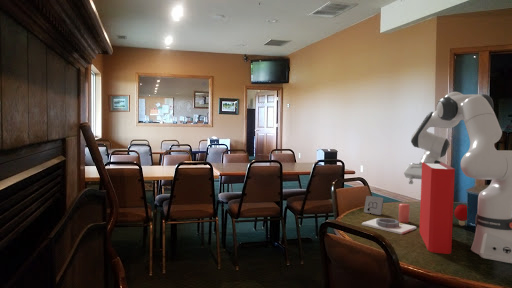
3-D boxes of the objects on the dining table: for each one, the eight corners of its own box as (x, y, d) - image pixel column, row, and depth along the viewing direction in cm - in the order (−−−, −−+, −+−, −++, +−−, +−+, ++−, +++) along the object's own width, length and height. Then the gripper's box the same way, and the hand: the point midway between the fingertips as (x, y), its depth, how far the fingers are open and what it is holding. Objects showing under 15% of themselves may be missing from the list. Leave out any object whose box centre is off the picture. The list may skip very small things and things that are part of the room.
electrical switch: (363, 212, 205) (364, 195, 205) (367, 212, 209) (368, 195, 209) (380, 215, 199) (381, 198, 199) (384, 215, 203) (385, 197, 203)
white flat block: (416, 228, 175) (416, 222, 175) (401, 234, 165) (401, 227, 165) (377, 220, 190) (377, 214, 189) (361, 224, 180) (361, 218, 180)
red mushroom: (454, 222, 186) (454, 202, 186) (470, 224, 183) (471, 204, 182) (452, 226, 178) (453, 206, 178) (469, 229, 175) (470, 208, 174)
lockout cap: (410, 221, 187) (411, 204, 187) (406, 223, 184) (406, 206, 184) (401, 219, 191) (401, 203, 191) (396, 221, 188) (397, 204, 187)
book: (419, 232, 169) (422, 161, 167) (438, 233, 167) (441, 162, 165) (428, 252, 143) (432, 168, 141) (452, 254, 141) (455, 169, 139)
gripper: (407, 159, 209) (398, 178, 203) (446, 162, 193) (437, 183, 187) (411, 166, 212) (402, 185, 206) (449, 170, 197) (440, 191, 191)
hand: (419, 184), depth 196 cm, fingers open, 8 cm apart
